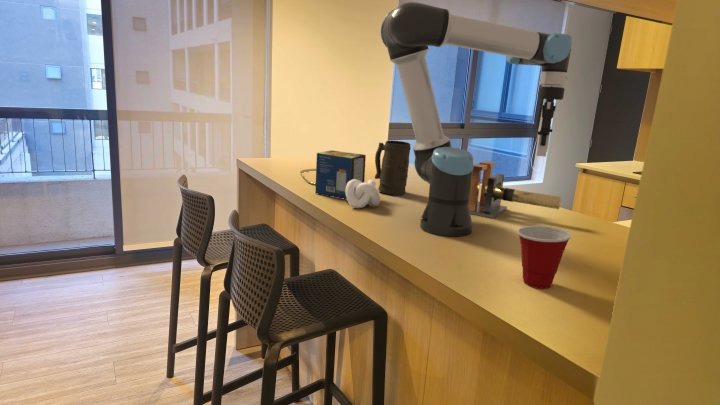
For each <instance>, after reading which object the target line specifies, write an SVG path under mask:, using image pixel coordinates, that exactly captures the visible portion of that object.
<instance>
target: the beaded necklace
mask: <svg viewBox="0 0 720 405" xmlns="http://www.w3.org/2000/svg"><path fill="white" fill-rule="evenodd" d="M309 171H316V168H308V169H307V168H306V169H302V170H300V171H299V173H300V175H301V176H302V178H304V179H305V181H306V182H307V183H308V184H310V185H312V184H315V185H314V186H316V182H313V181H310V180H308V178H307V177H306V176H305V175H304V174H305V173H304V172H307V173H310V172H309ZM302 173H304V174H303V175H304V176H305V177H306V178H307V179H306V178H305V177H304V176H303V175H302Z"/></svg>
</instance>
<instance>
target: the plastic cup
mask: <svg viewBox="0 0 720 405" xmlns="http://www.w3.org/2000/svg"><path fill="white" fill-rule="evenodd" d="M516 233H517V234H518V237H519V241H520V248H521V249H520V250H521V255H520V256H521V266H522V282H523V283H524V284H525V285H527V286H528V287H529V286H530V287H532V288H536V289H541V290H543V289H549V288H551V286H552V285H553V282H554V279H555V276H556V274H557V272H558V269H559V266H560V263H561V260H562V257H563V254H564V252H565V250H566V247H567V245H568V242H569V240H570V239H572V238H571V237H572V233H571V232H569V231H568V230H565V229H562V228H559V227H553V226H546V225H545V226H544V225H528V226H523V227H520V228H517V230H516Z"/></svg>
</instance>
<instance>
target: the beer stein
mask: <svg viewBox="0 0 720 405" xmlns="http://www.w3.org/2000/svg"><path fill="white" fill-rule="evenodd" d="M384 143H385V144H384ZM411 149H412V148H411V143H409V142H406V141H402V140H386V141H385V142H379V143H378V147H377V149H376V152H375V156H374V158H375V159H374V163H375V169H376V173H375V175H374V179H375V180H379V185H378V188H377V191H378V192H380V193H383V194H385V195H390V196H391V195H392V196H402V195H405V194H406V186H407V182H408V175H409V174H408V173H409V165H410V154H411ZM383 151H384V152H383ZM382 152H383V156H382ZM381 156H382V160H381ZM381 161H382V162H381Z"/></svg>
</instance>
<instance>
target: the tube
mask: <svg viewBox="0 0 720 405" xmlns="http://www.w3.org/2000/svg"><path fill="white" fill-rule="evenodd" d="M486 193H487V185H486V187H485V190H484V197H486ZM494 198H495V199H501V201H505V202H511V203H520V204H526V205H531V206H538V207H544V208H548V209H549V208H550V209H553V210H554V209H555V210H559V209H560V208H561V203H562V196H557V195H551V194H545V193H538V192H532V191H531V192H530V191H525V190H518V189H516V188H509V187H503V188H501V187H495V194H494Z"/></svg>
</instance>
